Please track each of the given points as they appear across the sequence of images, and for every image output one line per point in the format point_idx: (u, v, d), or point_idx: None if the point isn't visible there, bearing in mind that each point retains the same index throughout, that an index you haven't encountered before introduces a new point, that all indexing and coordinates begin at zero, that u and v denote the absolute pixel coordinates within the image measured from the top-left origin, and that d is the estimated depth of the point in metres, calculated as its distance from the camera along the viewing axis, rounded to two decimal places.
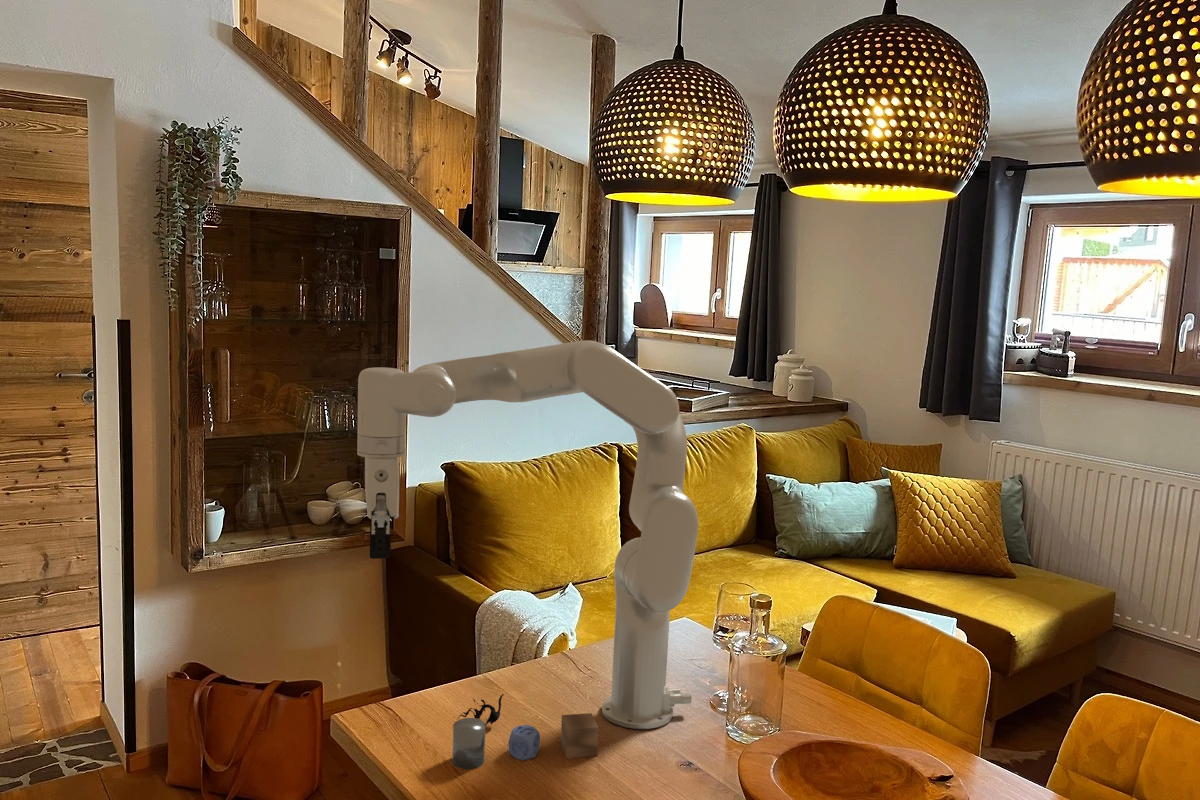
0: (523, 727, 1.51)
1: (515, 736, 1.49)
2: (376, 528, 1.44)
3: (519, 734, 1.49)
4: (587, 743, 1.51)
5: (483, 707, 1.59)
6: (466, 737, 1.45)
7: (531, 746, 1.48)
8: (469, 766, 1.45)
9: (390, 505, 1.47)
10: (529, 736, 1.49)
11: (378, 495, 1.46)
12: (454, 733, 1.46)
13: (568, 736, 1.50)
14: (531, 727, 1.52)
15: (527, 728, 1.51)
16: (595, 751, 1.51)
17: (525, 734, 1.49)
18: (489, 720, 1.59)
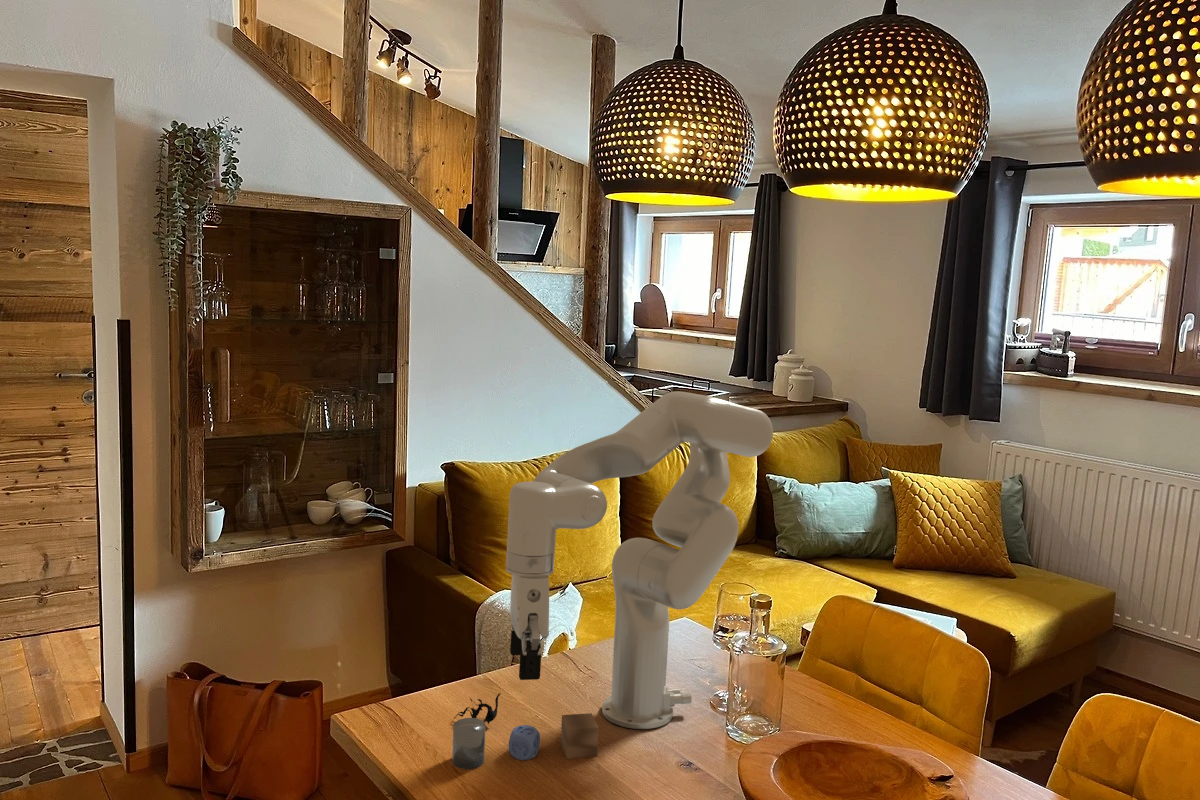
0: (523, 727, 1.51)
1: (515, 736, 1.49)
2: (529, 651, 1.41)
3: (519, 734, 1.49)
4: (587, 743, 1.51)
5: (480, 706, 1.60)
6: (466, 737, 1.45)
7: (531, 746, 1.48)
8: (469, 766, 1.45)
9: (541, 625, 1.43)
10: (529, 736, 1.49)
11: (530, 615, 1.43)
12: (454, 733, 1.46)
13: (568, 736, 1.50)
14: (531, 727, 1.52)
15: (527, 728, 1.51)
16: (595, 751, 1.51)
17: (525, 734, 1.49)
18: (486, 719, 1.59)
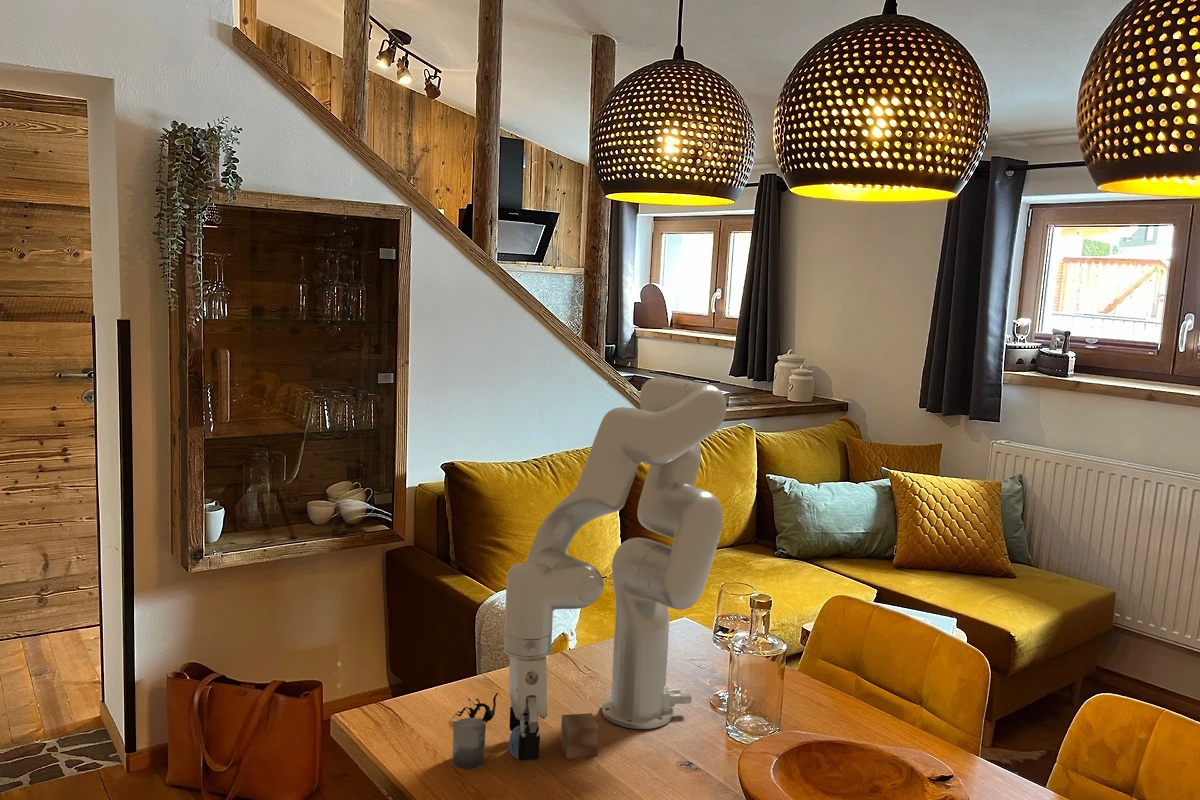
0: None
1: (515, 736, 1.49)
2: (528, 733, 1.43)
3: (519, 734, 1.49)
4: (587, 743, 1.51)
5: (478, 706, 1.60)
6: (466, 737, 1.45)
7: None
8: (469, 766, 1.45)
9: (540, 707, 1.45)
10: None
11: (528, 697, 1.44)
12: (454, 733, 1.46)
13: (568, 736, 1.50)
14: None
15: None
16: (595, 751, 1.51)
17: None
18: (484, 719, 1.59)
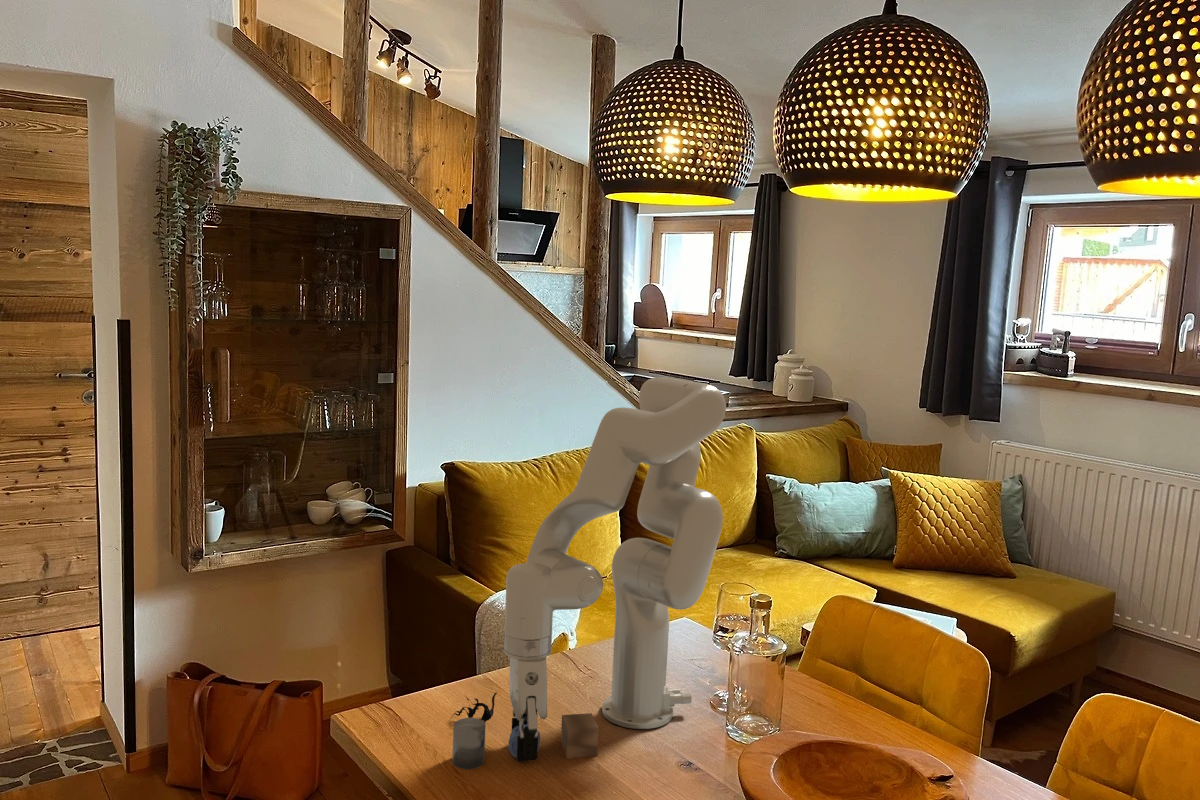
0: None
1: (515, 736, 1.49)
2: (526, 734, 1.45)
3: None
4: (587, 743, 1.51)
5: (476, 705, 1.60)
6: (466, 737, 1.45)
7: None
8: (469, 766, 1.45)
9: (540, 708, 1.45)
10: None
11: (528, 701, 1.45)
12: (454, 733, 1.46)
13: (568, 736, 1.50)
14: None
15: None
16: (595, 751, 1.51)
17: None
18: (483, 718, 1.59)
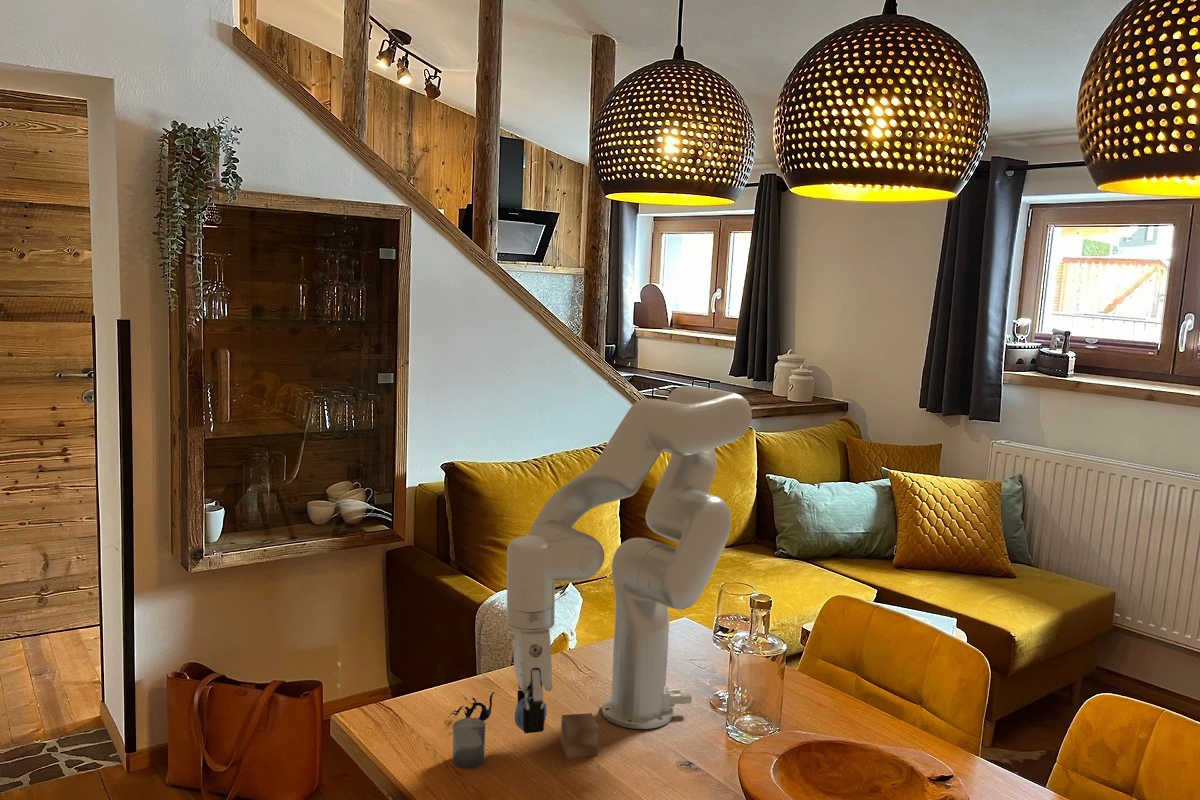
0: (529, 699, 1.51)
1: (521, 708, 1.49)
2: (532, 706, 1.45)
3: None
4: (587, 743, 1.51)
5: (474, 705, 1.60)
6: (466, 737, 1.45)
7: None
8: (469, 766, 1.45)
9: (545, 679, 1.45)
10: None
11: (533, 673, 1.45)
12: (454, 733, 1.46)
13: (568, 736, 1.50)
14: None
15: None
16: (595, 751, 1.51)
17: None
18: (480, 718, 1.59)
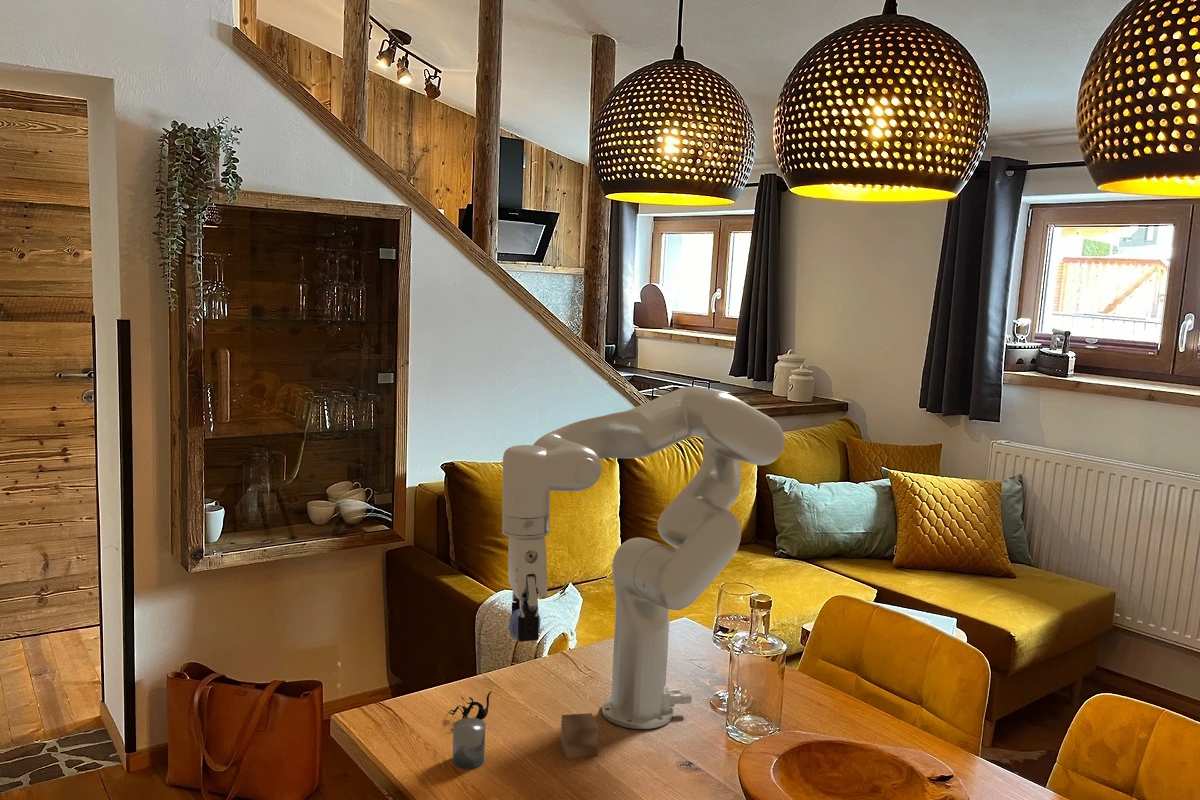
0: None
1: (516, 617, 1.49)
2: (527, 613, 1.45)
3: (519, 615, 1.49)
4: (587, 743, 1.51)
5: (471, 704, 1.60)
6: (466, 737, 1.45)
7: None
8: (469, 766, 1.45)
9: (540, 586, 1.45)
10: None
11: (528, 579, 1.45)
12: (454, 733, 1.46)
13: (568, 736, 1.50)
14: None
15: None
16: (595, 751, 1.51)
17: None
18: (477, 717, 1.59)
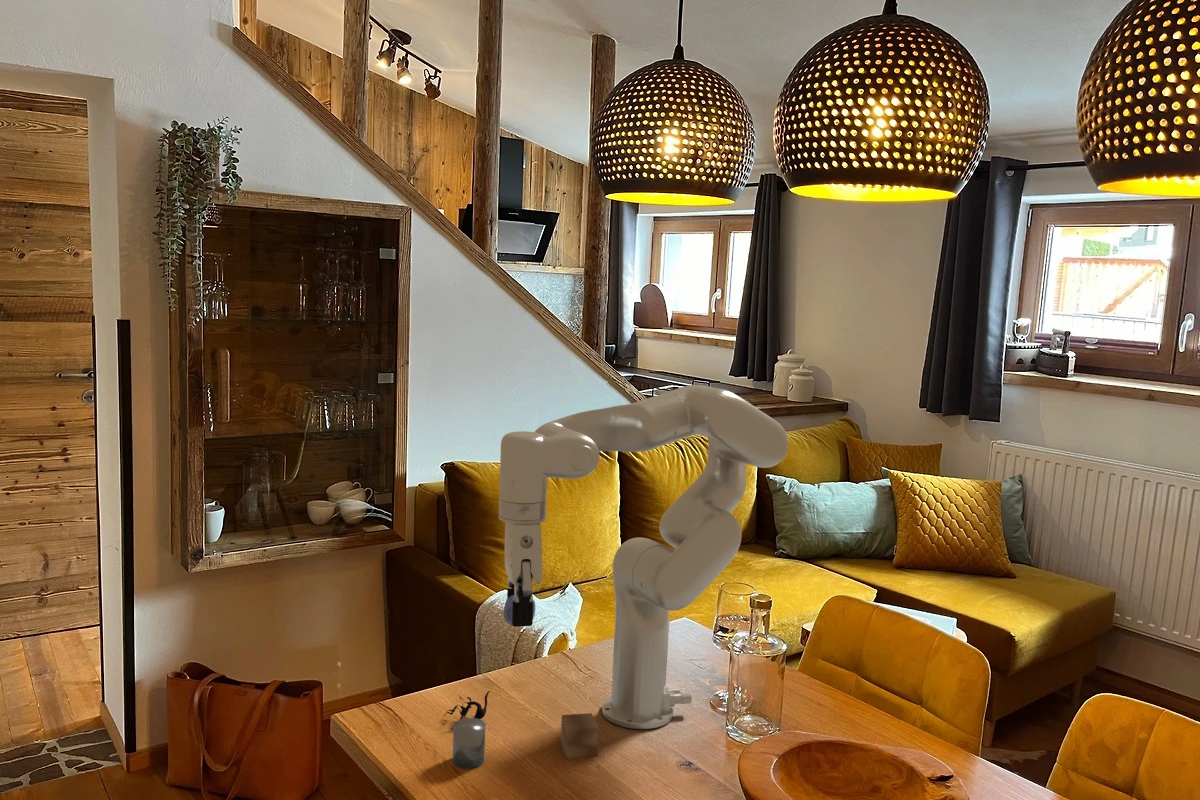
0: None
1: (510, 603, 1.50)
2: (521, 598, 1.46)
3: None
4: (587, 743, 1.51)
5: (469, 704, 1.60)
6: (466, 737, 1.45)
7: None
8: (469, 766, 1.45)
9: (535, 571, 1.46)
10: None
11: (523, 564, 1.46)
12: (454, 733, 1.46)
13: (568, 736, 1.50)
14: None
15: None
16: (595, 751, 1.51)
17: None
18: (475, 717, 1.59)
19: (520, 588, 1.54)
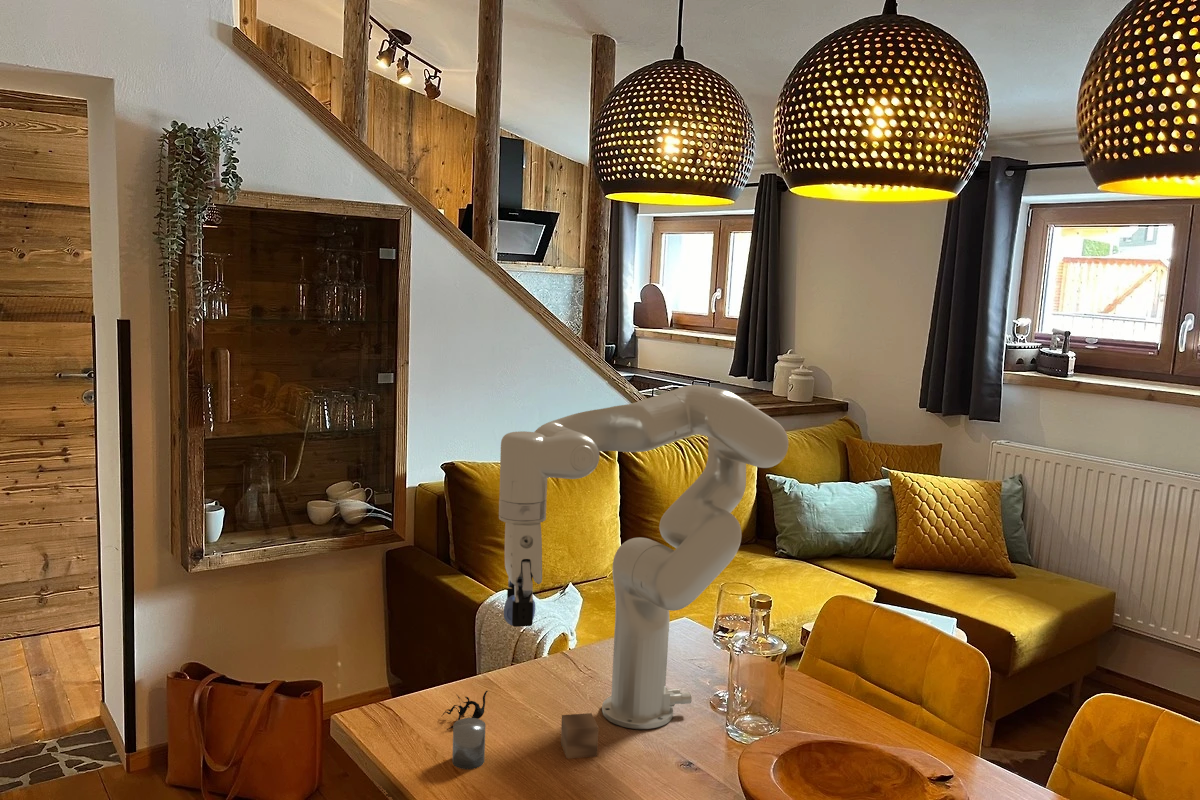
0: None
1: (510, 603, 1.50)
2: (521, 598, 1.46)
3: None
4: (587, 743, 1.51)
5: (467, 704, 1.60)
6: (466, 737, 1.45)
7: None
8: (469, 766, 1.45)
9: (535, 571, 1.46)
10: None
11: (523, 564, 1.46)
12: (454, 733, 1.46)
13: (568, 736, 1.50)
14: None
15: None
16: (595, 751, 1.51)
17: None
18: (473, 717, 1.60)
19: (520, 588, 1.54)
